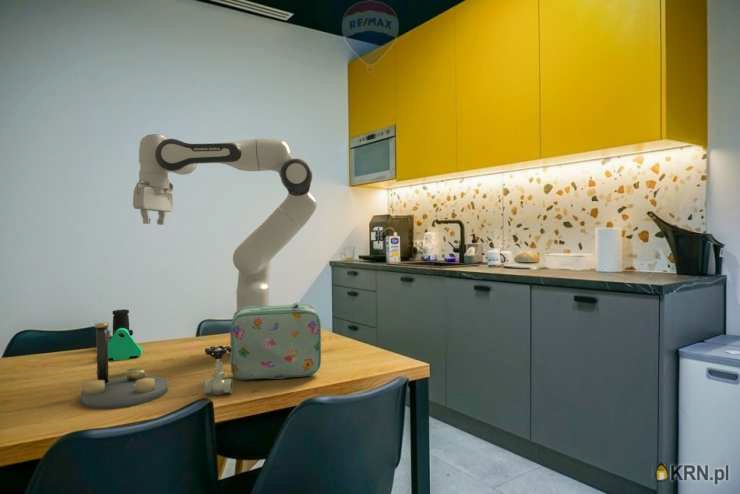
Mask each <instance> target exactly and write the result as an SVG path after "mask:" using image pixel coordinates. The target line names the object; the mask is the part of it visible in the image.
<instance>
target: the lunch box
mask: <svg viewBox="0 0 740 494" xmlns="http://www.w3.org/2000/svg"><path fill="white" fill-rule="evenodd" d="M230 323H231V324H230V335H229V336H230V341H229V342H230V345H229V346H230V348H231V352H229V353H230V356H229V357H230V371H231V374H232V375H233V377H234V378H235V379H237V380H242V381H243V380H244V381H246V380H264V379H269V380H270V379H272V380H273V379H274V380H282V379H287V378H302V377H308V376H312V375H314V374H316V373H317V372H318V371H319V370H320V367H321V363H322V341H323V337H322V329H321V328H322V325H321V324H322V323H321V318H320V316H319V314H318V312H317V310H316V309H315V307H313V306H312V305H309V304H306V303H305V304H303V303H301V304H299V302H297V301H296V302H295V303H293V304H284V305H269V306H249V307H244V308H241V309H239V310H238V311H237V310H236V311H235V312H234V314H233V317H232V320H231V322H230Z"/></svg>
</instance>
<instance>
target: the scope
mask: <svg viewBox="0 0 740 494" xmlns="http://www.w3.org/2000/svg"><path fill="white" fill-rule="evenodd" d="M129 314H130V309H115V310H112V315H113V316H112V331H111V329H108V342H109V341H110V339H111V338H112V336H113V335H114V333H115V332H116V331H117V330H118V329H120V328H125V329H127V330H128V332H129V334H130V336H131V337H133V335H134V331H133V329H130V318H129V317H130V316H129ZM111 332H112V334H111ZM118 336H119V337H121V338H123V337H124V334H123V333H119V334H118Z"/></svg>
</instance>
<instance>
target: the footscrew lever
mask: <svg viewBox="0 0 740 494" xmlns="http://www.w3.org/2000/svg"><path fill="white" fill-rule="evenodd" d="M109 323H110V322H97V323H95V324H94V328H95V331H96V332H95V335H96V336H95V338H96V380H104V381H105V383H108V382H109V380H112V379H117V378H123V377H127V380H139V379H143V378H145V376H146V372H145V371H146V369H145V368H144V367H134V368H130V369H126V370H125V371H121V372H120V371H119V372H114V373H109V358H108V342H109V340H108V336H109V335H108V333H109V328H108V327H110V324H109Z"/></svg>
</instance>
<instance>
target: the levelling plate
mask: <svg viewBox="0 0 740 494" xmlns="http://www.w3.org/2000/svg"><path fill="white" fill-rule="evenodd" d="M168 383H169V382H168V380H167V379H166V378H163V377H162V376H156V375H145V378H143V379H139V380H127V377H121V378H116V379H110V380H109V382H108V383H105V381H104V380H97V379H94V380H90V381H87V382H84V385H83V387H84V389H83V390H82V391H81V392H80V404H81V405H82V406H83V407H86V408H91V409H98V408H100V409H101V410H102V409H105V410H107V409H106V408H108V409H118V408H120V409H121V408H126V407H127V406H128V407H132V405H133V406H137V405H142V404H146V403H148V402H149V403H150V402H152V401H155V400H156V399H159V398H161V397H163V396H164V395H165V394H167V393H168V391H169V385H168ZM154 399H155V400H154ZM128 407H127V408H128Z"/></svg>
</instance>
